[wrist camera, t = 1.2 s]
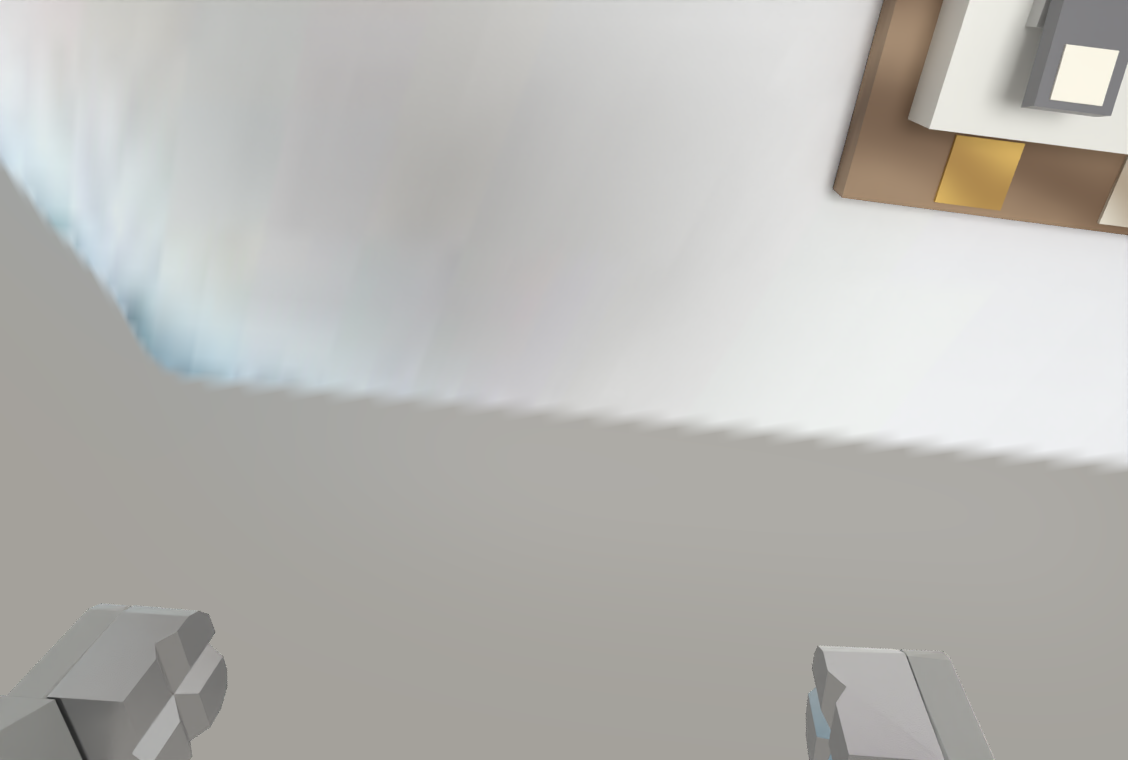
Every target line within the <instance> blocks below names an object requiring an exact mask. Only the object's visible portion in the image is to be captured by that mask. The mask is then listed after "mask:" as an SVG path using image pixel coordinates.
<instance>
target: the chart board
mask: <svg viewBox="0 0 1128 760" xmlns="http://www.w3.org/2000/svg"><path fill="white" fill-rule="evenodd" d="M942 3H943V0H884V1H883V5H882V8H881V12H880V16H879V19H878V23H877V27H876V30H875V34H874V38H873V42H872V45H871V49H870V53H869V56H868V60H867V64H866V68H865V71H864V75H863V79H862V82H861V86H860V90H859V93H858V97H857V101H856V105H855V108H854V112H853V116H852V119H851V123H850V127H849V131H848V134H847V138H846V142H845V145H844V149H843V153H842V156H841V160H840V164H839V168H838V171H837V175H836V179H835V182H834V186H833V189H834V190H835V191H836V192H837V193H838V194H839V195H840V196H841V197H842V198H849V199H857V200H865V201H872V202H880V203H887V204H895V205H903V206H910V207H918V208H926V209H933V210H941V211H948V212H956V213H964V214H971V215H979V216H987V217H994V218H1002V219H1009V220H1017V221H1025V222H1032V223H1040V224H1048V225H1055V226H1063V227H1070V228H1078V229H1086V230H1093V231H1101V232H1109V233H1116V234H1124V235H1128V154H1120V153H1113V152H1105V151H1097V150H1089V149H1081V148H1074V147H1066V146H1058V145H1050V144H1043V143H1035V142H1027V141H1019V140H1012V139H1004V138H996V137H988V136H980V135H973V134H965V133H957V132H949V131H942V130H934V129H928V128H926V127H924V126H922V125H920V124H917V123H915V122H913V121H911V120H909V119H908V116H909V113H910V109H911V106H912V103H913V100H914V96H915V93H916V90H917V86H918V83H919V80H920V76H921V73H922V70H923V66H924V63H925V60H926V56H927V53H928V50H929V46H930V43H931V40H932V37H933V33H934V30H935V27H936V23H937V20H938V17H939V13H940V10H941V7H942Z"/></svg>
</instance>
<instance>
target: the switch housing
mask: <svg viewBox="0 0 1128 760" xmlns="http://www.w3.org/2000/svg"><path fill="white" fill-rule="evenodd" d="M1050 2H1051V0H943V3H942V7H941V10H940V13H939V17H938V20H937V23H936V27H935V30H934V33H933V37H932V40H931V43H930V46H929V50H928V53H927V56H926V60H925V63H924V66H923V70H922V73H921V76H920V80H919V83H918V86H917V90H916V93H915V96H914V100H913V103H912V106H911V109H910V113H909V116H908V119H909V120H911V121H913V122H915V123H917V124H920V125H922V126H924V127H926V128H928V129H934V130H942V131H949V132H957V133H965V134H973V135H980V136H988V137H996V138H1004V139H1012V140H1019V141H1027V142H1035V143H1043V144H1050V145H1058V146H1066V147H1074V148H1081V149H1089V150H1097V151H1105V152H1113V153H1120V154H1128V64H1127V67H1126V70H1125V73H1124V76H1123V80H1122V83H1121V86H1120V89H1119V92H1118V95H1117V99H1116V102H1115V105H1114V108H1113V111H1112V114H1111V116H1103V117H1091V116H1084V115H1076V114H1068V113H1060V112H1052V111H1044V110H1037V109H1029V108H1021V105H1022V102H1023V98H1024V95H1025V91H1026V88H1027V84H1028V80H1029V77H1030V73H1031V70H1032V66H1033V63H1034V59H1035V56H1036V52H1037V49H1038V45H1039V41H1040V38H1041V34H1042V31H1043V27H1044V24H1045V20H1046V17H1047V13H1048V9H1049V6H1050Z"/></svg>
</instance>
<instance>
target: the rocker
mask: <svg viewBox="0 0 1128 760" xmlns="http://www.w3.org/2000/svg"><path fill="white" fill-rule="evenodd" d="M1127 64H1128V0H1051V2H1050V6H1049V9H1048V13H1047V17H1046V20H1045V24H1044V27H1043V31H1042V34H1041V38H1040V41H1039V45H1038V49H1037V52H1036V56H1035V59H1034V63H1033V66H1032V70H1031V73H1030V77H1029V80H1028V84H1027V88H1026V91H1025V95H1024V98H1023V102H1022V105H1021V108H1029V109H1037V110H1044V111H1052V112H1060V113H1068V114H1076V115H1084V116H1091V117H1103V116H1111V114H1112V111H1113V108H1114V105H1115V102H1116V99H1117V95H1118V92H1119V89H1120V86H1121V83H1122V80H1123V76H1124V73H1125V70H1126V67H1127Z"/></svg>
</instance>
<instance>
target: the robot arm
mask: <svg viewBox="0 0 1128 760" xmlns="http://www.w3.org/2000/svg"><path fill="white" fill-rule="evenodd" d="M214 634H215V630H214V627H213V624H212V622H211V619H210V616H209V614H207V613H204V612H201V611H194V610H181V609H170V608H158V607H145V606H125V605H113V604H102V603H101V604H99V605H96V606H94V607H92V608H90V609H88V610H87V611H86V612H85V613H84V614H83V615H82V616H81V617H80V619H78V620H77V621H76V623H75V624H74V625H73V626H72V627H71V628H70V629H69V630H68V631H67V632H66V633H65V635H63V636H62V637H61V638H60V640H59V641H58V642H57V643H56V644H55V645H54V646H53V647H52V648H51V649H50V650H49V651H48V652H47V653H46V654H45V655H44V657H43V658H42V659H41V660H40V661H39V662H38V663H37V664H36V665H35V666H34V667H33V668H32V669H31V670H30V671H29V673H27V675H26V676H25V677H24V678H23V679H22V680H21V681H20V682H19V683H18V684H17V685H16V686H15V687H14V688H13V689H12V690H11V691H10V693H9V694H8V695H7V696H4V695H0V760H190V759H191V757H192V751H191V743H190V741H191V740H192V739H194V738H195V737H197V736H198V735H200V734H201V733H202V732H204V731H205V730H207V729H208V728H210V727H211V725H212V723H213V721H214V720H215V718H216V716H217V715H218V713H219V711H220V709H221V707H222V703H223V700H224V696H225V693H226V689H227V668H226V664H225V661H224V658H223V656H222V655H221V654H220V653H219V652H218V651H216V649H214V648H213V647H212V646H211V645H210V644H209V642H210V640H211V639H212V637H213V635H214ZM812 671H813V675H814V679H815V685H816V688H814V689H813V690H812V691H811V692H810V693H809V694H808V700H807V709H806V740H807V748H808V755H809V760H995V757H994V755H993V753H992V751H991V748H990V746H989V744H988V742H987V739H986V737H985V735H984V733H983V730H982V728H981V726H980V724H979V721H978V719H977V717H976V715H975V713H974V710H973V708H972V706H971V703H970V701H969V699H968V697H967V694H966V692H965V690H964V688H963V685H962V683H961V681H960V679H959V677H958V674H957V672H956V670H955V667H954V665H953V663H952V661H951V658H950V657H949V656H948V655H947V654H946V653H944V651H925V650H904V649H901V650H900V651H899V650H897V649H881V648H859V647H838V646H817V648H816V651H815V653H814V658H813V665H812Z"/></svg>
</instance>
